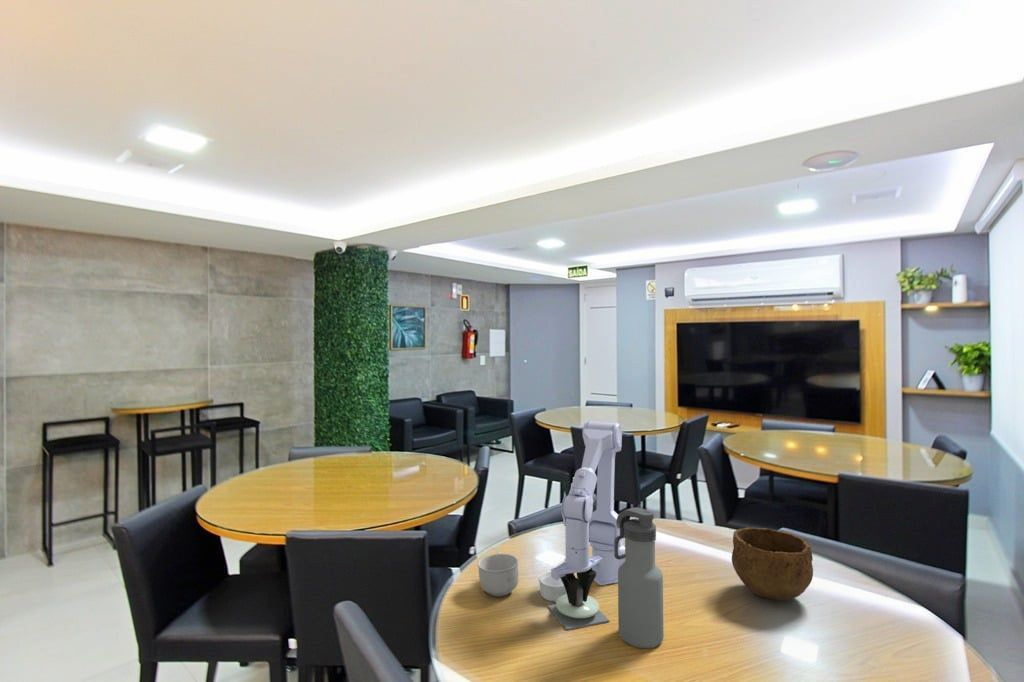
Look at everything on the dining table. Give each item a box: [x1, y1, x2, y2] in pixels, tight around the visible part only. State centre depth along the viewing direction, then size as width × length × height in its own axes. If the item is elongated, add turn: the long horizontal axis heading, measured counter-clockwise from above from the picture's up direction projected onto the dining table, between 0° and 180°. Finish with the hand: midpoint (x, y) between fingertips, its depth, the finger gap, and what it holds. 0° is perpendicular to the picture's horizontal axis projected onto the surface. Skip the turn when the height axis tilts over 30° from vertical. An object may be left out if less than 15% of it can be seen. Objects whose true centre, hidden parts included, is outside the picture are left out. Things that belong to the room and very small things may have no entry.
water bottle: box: [614, 507, 665, 649], centre depth 111 cm, size 10×10×28 cm
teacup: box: [477, 550, 519, 597], centre depth 133 cm, size 14×11×8 cm
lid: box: [555, 585, 600, 618], centre depth 120 cm, size 10×10×5 cm
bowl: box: [731, 527, 814, 601], centre depth 129 cm, size 19×19×15 cm
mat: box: [547, 603, 610, 631], centre depth 120 cm, size 11×11×1 cm
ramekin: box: [538, 571, 567, 603], centre depth 130 cm, size 9×9×4 cm
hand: (577, 601), depth 120 cm, fingers closed on lid, 3 cm apart
